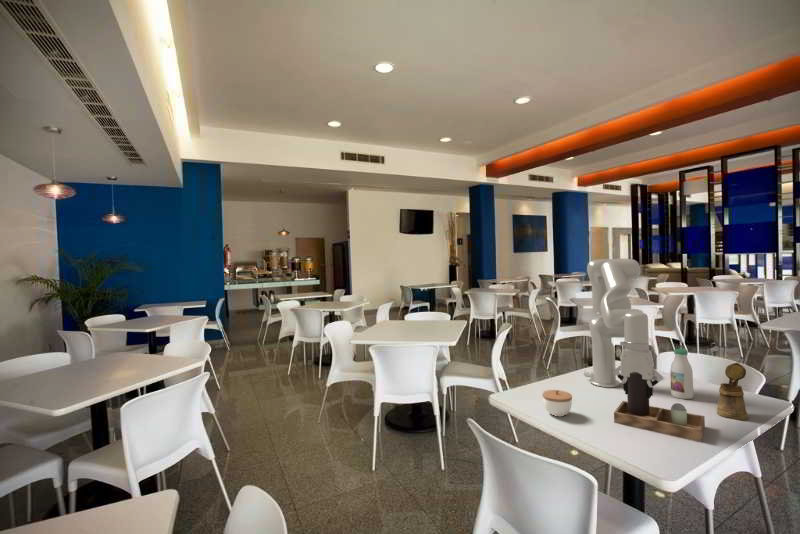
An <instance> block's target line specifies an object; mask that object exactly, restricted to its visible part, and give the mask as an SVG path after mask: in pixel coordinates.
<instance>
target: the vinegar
mask: <svg viewBox="0 0 800 534" xmlns="http://www.w3.org/2000/svg"><path fill="white" fill-rule="evenodd" d="M647 387H648V384H647V380H643V379H642V375H641V374H639V373H638V372H632V373H630V377H627V391H628V394H626V396H627V402H628V412H629V413H631V414H633V415H636V416H648V415H649V413H650V411H649V406H650V398H647Z"/></svg>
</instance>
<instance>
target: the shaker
mask: <svg viewBox="0 0 800 534" xmlns="http://www.w3.org/2000/svg"><path fill="white" fill-rule="evenodd" d="M670 410H671V423H672V424H676V425H681V426H686V427H687V413H688V410H687V409H686V406H684V405H683V404H681V403H680V402H679V403H678V402H677V403H673V404H672V406H671V407H670Z"/></svg>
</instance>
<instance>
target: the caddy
mask: <svg viewBox="0 0 800 534" xmlns="http://www.w3.org/2000/svg"><path fill="white" fill-rule="evenodd" d="M649 411H650V413H649V415H648V416H636V415H633V414H631V413H629V412H628V400H627V401H625V400H623V401H622V402H620V404H619V405H618V407H617V408H616V409H615V410H614V411H613V422H614V423H615V424H618V425H619V424H620V425H623V426H628V427H633V428H636V429H641V430H645V431H650V432H655V433H659V434H662V435H663V434H664V435H666V436H667V435H668V436H671V437H677V438H682V439H685V440H689V441H690V440H691V441H695V442H700V443H702V442H703V437H704V431H705V428H706V427H705V426H706V425H705V424H706V422H705V421H706V420H705V418H706V417H705V416H704V415H699V414H694V413H690V412H687V427H686V426H681V425H676V424H672V423H671V409H669V408H664V407H659V406H653V405H649Z"/></svg>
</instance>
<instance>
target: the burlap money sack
mask: <svg viewBox="0 0 800 534" xmlns="http://www.w3.org/2000/svg"><path fill="white" fill-rule="evenodd" d="M746 375H747V370H746V368H745V367H744V366H743V365H741V364H740V363H738V362H735V363H730V364H729V365H727V366H726V368H725V376H726V377H727V378H728V379H729V380H728V383H726V382H725V383H723V382H722V383H721V384H720V387H719V388H718V389H719V390H718V392H719V395H718V396H719V397H718V403H717V407H716V413H717V415H719V416H721V417H722V418H726V419H730V420H734V421H735V420H736V421H746V420H748V419H749V414H748V412H747V409H746V404H745V399H744V397H745V396H744V395H745V394H744V390H743V388H742V386H740V385H738V384H739V381H740V380H742V379H744V378H745V377H746Z"/></svg>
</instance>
